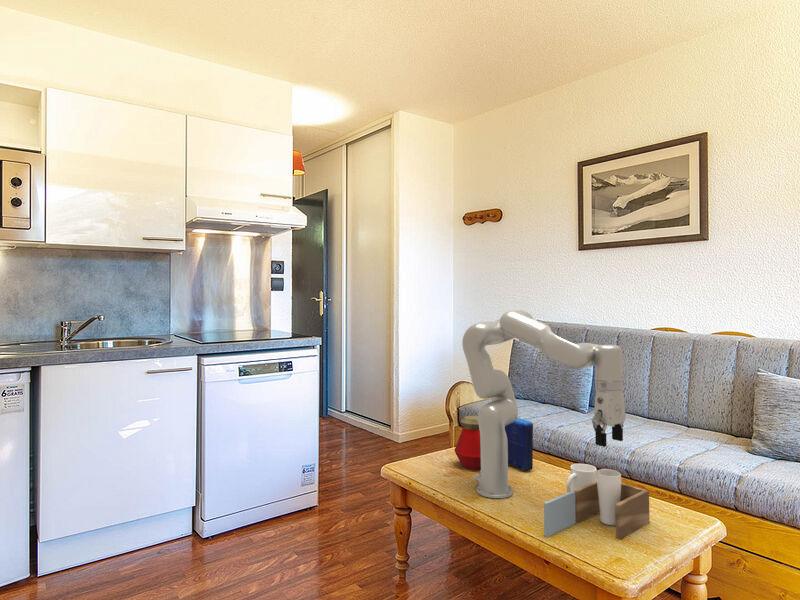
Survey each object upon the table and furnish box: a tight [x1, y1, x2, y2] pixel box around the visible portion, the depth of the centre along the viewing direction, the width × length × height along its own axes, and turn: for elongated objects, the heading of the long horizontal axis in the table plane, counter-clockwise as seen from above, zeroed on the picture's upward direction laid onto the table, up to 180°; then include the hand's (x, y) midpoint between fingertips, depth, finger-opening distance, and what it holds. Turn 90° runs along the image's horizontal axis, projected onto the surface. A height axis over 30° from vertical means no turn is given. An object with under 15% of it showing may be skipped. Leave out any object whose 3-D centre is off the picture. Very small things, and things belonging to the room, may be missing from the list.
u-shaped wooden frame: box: [574, 481, 650, 540], centre depth 147 cm, size 14×17×10 cm
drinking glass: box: [597, 468, 622, 526], centre depth 147 cm, size 7×7×15 cm
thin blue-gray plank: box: [543, 491, 576, 538], centre depth 143 cm, size 14×1×10 cm, turn 127°
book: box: [505, 417, 534, 472], centre depth 198 cm, size 14×5×20 cm, turn 29°
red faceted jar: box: [454, 415, 481, 471], centre depth 199 cm, size 16×14×20 cm
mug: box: [566, 463, 598, 493], centre depth 165 cm, size 12×8×10 cm
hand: (609, 442), depth 147 cm, fingers open, 8 cm apart
